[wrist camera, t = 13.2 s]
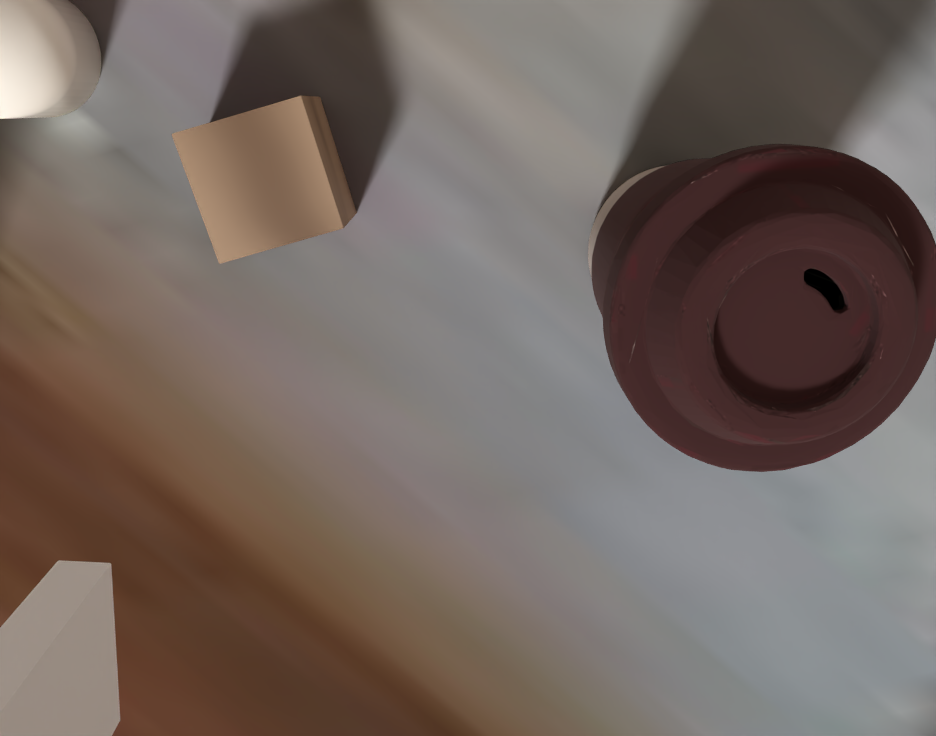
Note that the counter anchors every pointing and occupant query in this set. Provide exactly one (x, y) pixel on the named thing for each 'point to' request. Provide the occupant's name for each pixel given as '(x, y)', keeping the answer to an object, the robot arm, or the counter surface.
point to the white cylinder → (45, 58)
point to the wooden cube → (266, 177)
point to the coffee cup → (764, 302)
